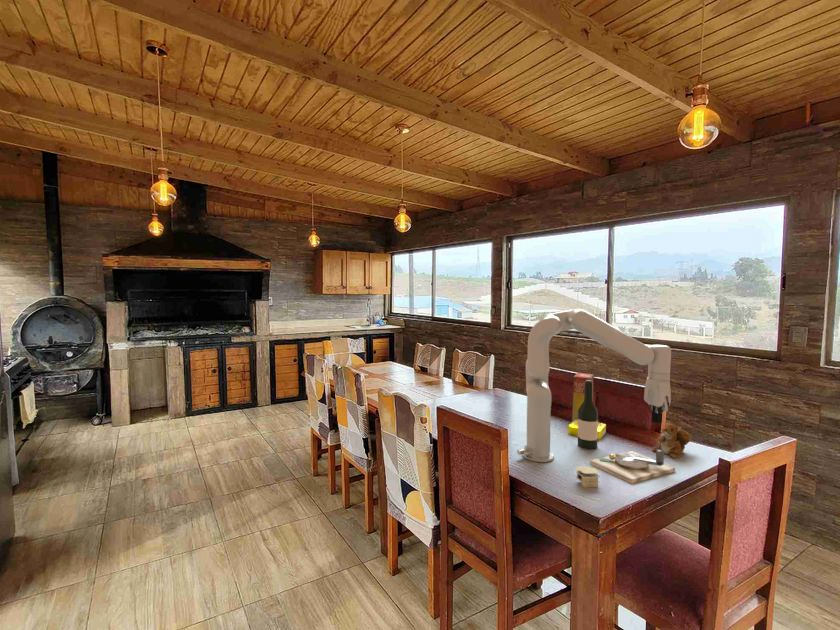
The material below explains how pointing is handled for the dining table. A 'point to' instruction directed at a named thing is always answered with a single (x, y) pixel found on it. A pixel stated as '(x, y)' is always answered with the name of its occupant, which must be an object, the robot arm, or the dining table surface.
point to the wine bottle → (588, 420)
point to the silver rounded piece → (637, 460)
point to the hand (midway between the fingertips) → (656, 422)
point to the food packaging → (579, 392)
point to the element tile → (574, 429)
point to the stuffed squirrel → (673, 440)
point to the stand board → (631, 474)
